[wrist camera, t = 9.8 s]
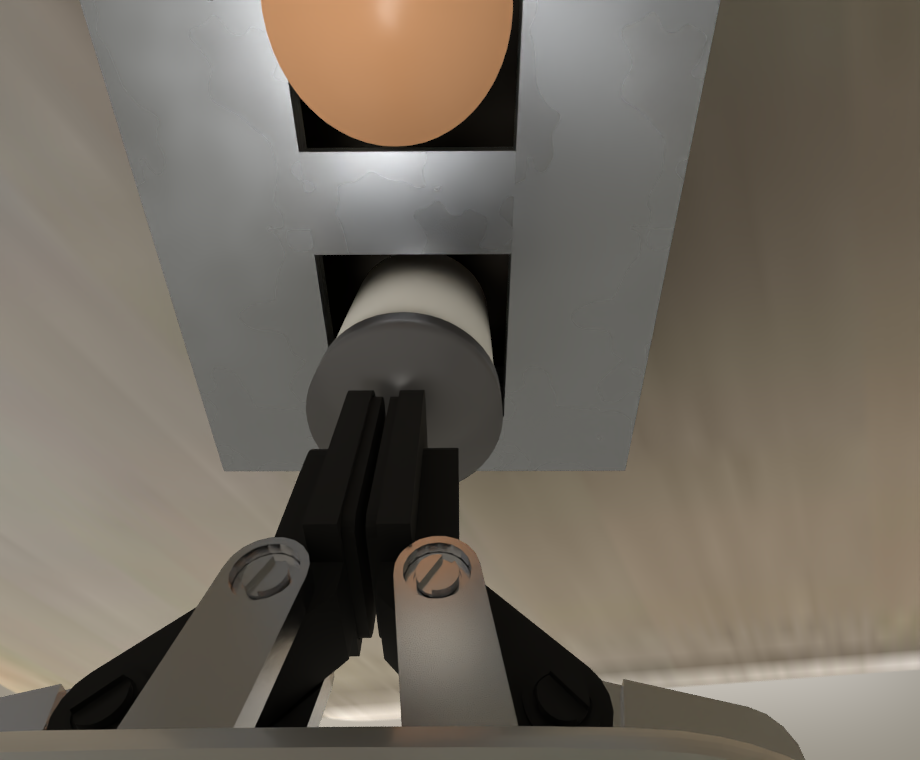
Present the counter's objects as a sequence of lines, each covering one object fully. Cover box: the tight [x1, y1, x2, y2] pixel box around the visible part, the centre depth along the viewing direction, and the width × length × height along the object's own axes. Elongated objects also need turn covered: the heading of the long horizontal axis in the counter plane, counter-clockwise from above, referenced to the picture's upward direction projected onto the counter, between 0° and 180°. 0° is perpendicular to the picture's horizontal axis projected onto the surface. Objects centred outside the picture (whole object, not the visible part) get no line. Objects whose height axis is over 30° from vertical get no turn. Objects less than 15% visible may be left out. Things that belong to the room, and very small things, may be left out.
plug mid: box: [261, 0, 513, 147], centre depth 12 cm, size 5×5×6 cm
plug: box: [306, 254, 503, 481], centre depth 15 cm, size 5×5×6 cm
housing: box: [80, 0, 720, 471], centre depth 14 cm, size 14×26×6 cm, turn 0°
